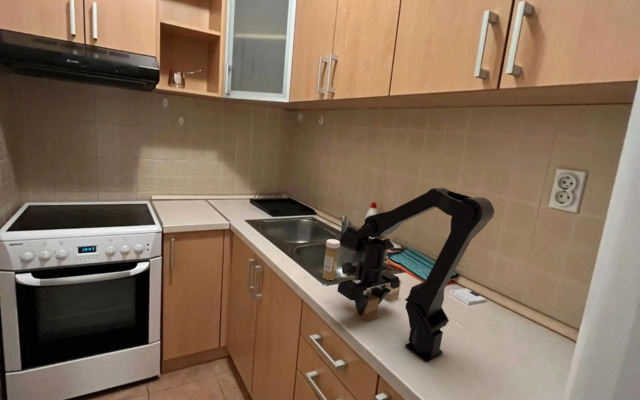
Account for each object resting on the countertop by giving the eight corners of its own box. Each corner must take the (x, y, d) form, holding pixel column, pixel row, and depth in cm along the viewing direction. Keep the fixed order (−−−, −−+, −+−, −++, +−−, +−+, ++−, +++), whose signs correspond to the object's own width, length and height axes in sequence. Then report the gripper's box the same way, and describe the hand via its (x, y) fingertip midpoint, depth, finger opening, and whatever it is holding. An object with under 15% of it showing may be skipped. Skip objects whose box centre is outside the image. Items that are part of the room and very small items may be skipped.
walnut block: (376, 318, 95) (379, 298, 94) (365, 322, 92) (368, 301, 91) (365, 310, 98) (368, 291, 97) (354, 314, 96) (356, 294, 94)
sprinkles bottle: (338, 279, 117) (342, 242, 114) (327, 282, 114) (331, 243, 112) (330, 274, 120) (334, 238, 118) (319, 276, 118) (323, 239, 115)
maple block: (398, 299, 108) (401, 281, 107) (388, 302, 105) (391, 283, 104) (387, 292, 111) (390, 275, 110) (378, 295, 108) (380, 278, 107)
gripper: (376, 246, 104) (369, 293, 107) (327, 254, 92) (321, 307, 96) (405, 259, 95) (396, 310, 98) (355, 270, 84) (348, 327, 87)
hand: (365, 313), depth 95 cm, fingers closed on walnut block, 4 cm apart
